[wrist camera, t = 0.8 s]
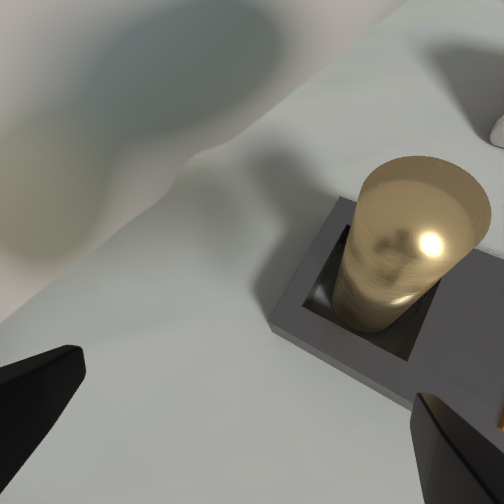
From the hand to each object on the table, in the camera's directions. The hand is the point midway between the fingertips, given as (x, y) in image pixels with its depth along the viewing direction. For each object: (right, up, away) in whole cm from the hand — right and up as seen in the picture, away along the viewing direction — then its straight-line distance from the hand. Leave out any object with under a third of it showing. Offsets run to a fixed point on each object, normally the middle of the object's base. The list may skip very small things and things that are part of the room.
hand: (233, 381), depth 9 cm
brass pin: (+8, 0, +14) cm, 16 cm away
